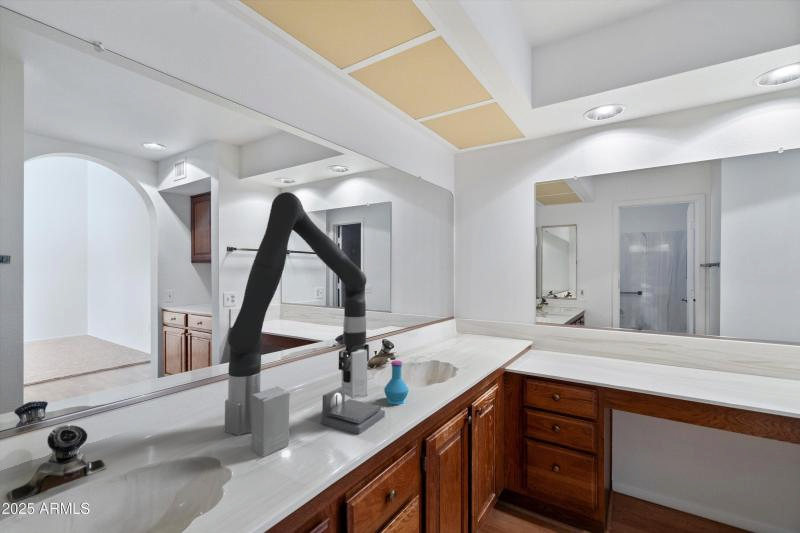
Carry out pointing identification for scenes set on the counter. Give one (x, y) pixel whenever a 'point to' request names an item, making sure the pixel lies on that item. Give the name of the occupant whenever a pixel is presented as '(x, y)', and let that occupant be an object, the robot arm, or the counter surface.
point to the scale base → (332, 401)
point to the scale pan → (353, 411)
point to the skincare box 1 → (270, 421)
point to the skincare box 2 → (356, 375)
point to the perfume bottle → (396, 385)
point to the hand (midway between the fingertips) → (354, 378)
